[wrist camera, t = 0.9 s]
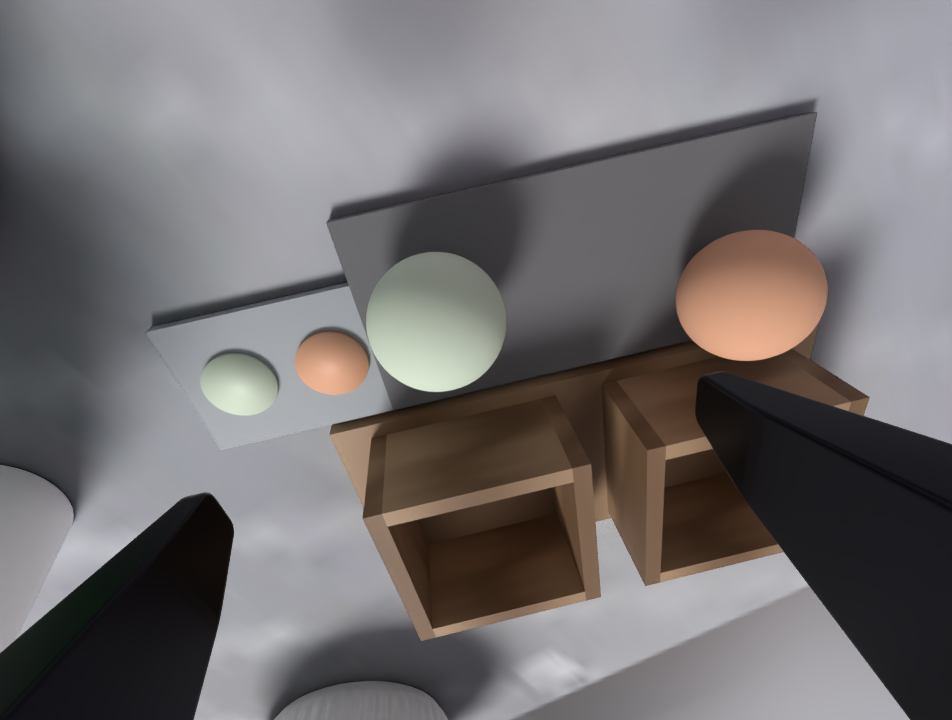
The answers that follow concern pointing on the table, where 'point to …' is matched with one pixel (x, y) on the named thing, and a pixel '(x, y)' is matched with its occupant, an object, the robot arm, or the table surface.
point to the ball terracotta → (751, 295)
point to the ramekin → (364, 703)
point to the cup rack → (560, 483)
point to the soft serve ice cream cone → (27, 543)
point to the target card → (275, 366)
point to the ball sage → (436, 321)
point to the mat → (588, 243)
